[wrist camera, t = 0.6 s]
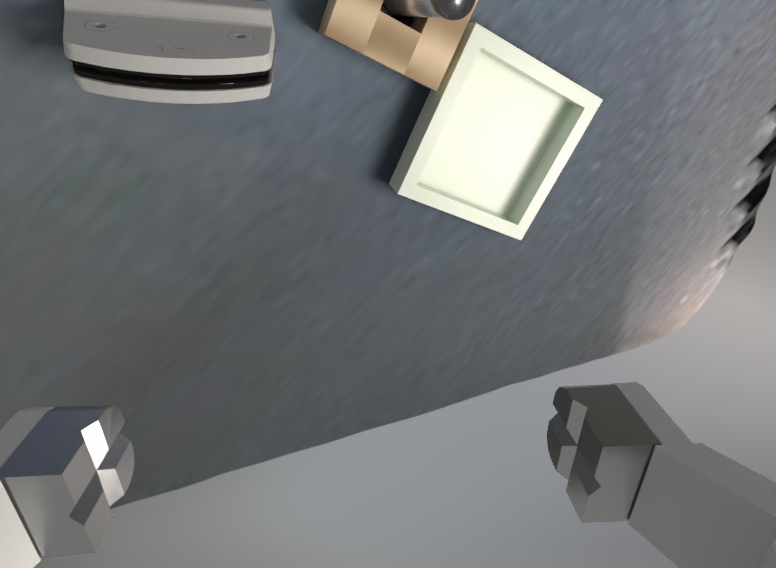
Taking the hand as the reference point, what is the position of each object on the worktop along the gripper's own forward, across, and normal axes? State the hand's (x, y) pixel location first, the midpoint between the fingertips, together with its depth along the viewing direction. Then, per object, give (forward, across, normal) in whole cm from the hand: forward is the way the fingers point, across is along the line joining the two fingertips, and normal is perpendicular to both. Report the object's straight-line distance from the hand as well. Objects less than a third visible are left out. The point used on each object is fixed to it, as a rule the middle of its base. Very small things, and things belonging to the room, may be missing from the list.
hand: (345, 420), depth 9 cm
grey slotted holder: (+42, +15, -6) cm, 45 cm away
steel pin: (+46, -5, -10) cm, 48 cm away
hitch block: (+46, -5, -10) cm, 48 cm away
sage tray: (+49, -16, +4) cm, 52 cm away
